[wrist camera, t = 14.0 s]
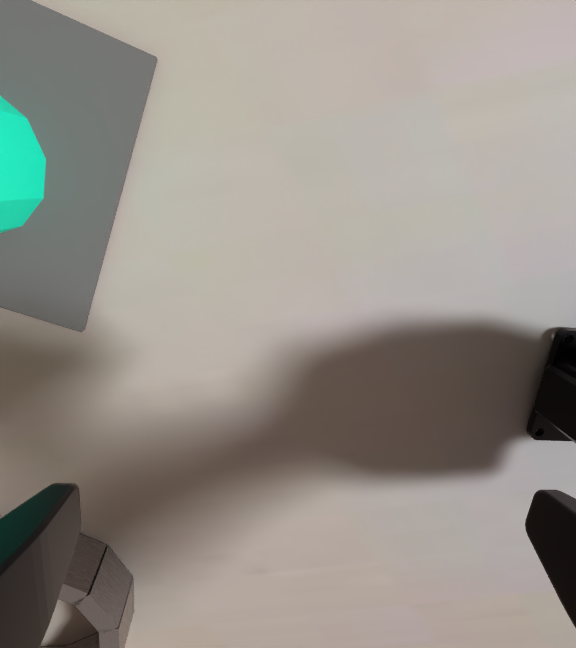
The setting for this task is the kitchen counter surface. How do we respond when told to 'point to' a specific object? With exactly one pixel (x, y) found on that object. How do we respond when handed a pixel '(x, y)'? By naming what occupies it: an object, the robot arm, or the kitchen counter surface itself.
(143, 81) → the mat
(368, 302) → the kitchen counter surface
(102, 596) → the ring holder
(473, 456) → the kitchen counter surface
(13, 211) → the candle
